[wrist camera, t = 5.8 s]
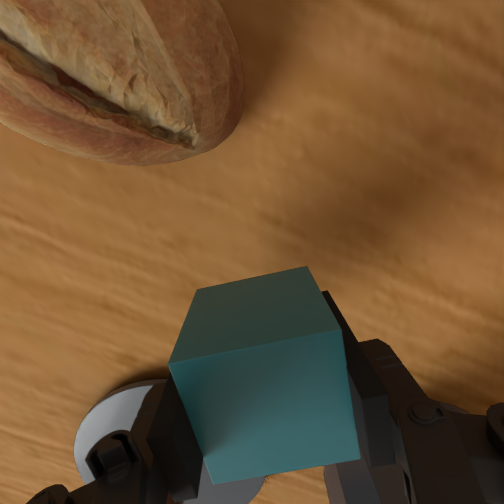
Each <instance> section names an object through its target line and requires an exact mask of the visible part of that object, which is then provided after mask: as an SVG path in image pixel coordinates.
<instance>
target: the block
mask: <svg viewBox="0 0 504 504" xmlns="http://www.w3.org/2000/svg"><path fill="white" fill-rule="evenodd" d="M168 366H169V369H170V371H171V374H172V377H173V379H174V382H175V385H176V387H177V390H178V393H179V395H180V398H181V400H182V402H183V405H184V408H185V410H186V413H187V415H188V418H189V421H190V423H191V426H192V429H193V431H194V434H195V437H196V439H197V442H198V445H199V447H200V450H201V452H202V455H203V459H204V462H205V464H206V467H207V470H208V472H209V475H210V478H211V480H212V483H213V484H220V483H226V482H231V481H237V480H243V479H249V478H254V477H260V476H266V475H272V474H277V473H283V472H289V471H294V470H300V469H306V468H312V467H317V466H323V465H329V464H334V463H340V462H346V461H352V460H357V459H361V455H360V448H359V442H358V435H357V431H356V426H355V420H354V414H353V407H352V401H351V394H350V388H349V381H348V375H347V368H346V366H347V362H346V356H345V349H344V343H343V336H342V330H341V328H340V326H339V324H338V322H337V320H336V319H335V317H334V315H333V313H332V311H331V309H330V308H329V306H328V304H327V302H326V300H325V298H324V296H323V295H322V293H321V291H320V289H319V287H318V285H317V284H316V282H315V280H314V278H313V276H312V274H311V272H310V271H309V269H308V267H307V266H304V267H300V268H295V269H290V270H286V271H281V272H276V273H272V274H267V275H262V276H258V277H253V278H248V279H244V280H239V281H234V282H229V283H225V284H220V285H215V286H211V287H206V288H201V289H197V290H196V293H195V296H194V298H193V301H192V303H191V306H190V308H189V311H188V313H187V316H186V319H185V321H184V324H183V326H182V329H181V331H180V334H179V337H178V339H177V342H176V344H175V347H174V349H173V352H172V354H171V357H170V360H169V362H168Z"/></svg>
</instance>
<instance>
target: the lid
mask: <svg viewBox="0 0 504 504" xmlns="http://www.w3.org/2000/svg"><path fill="white" fill-rule="evenodd" d="M166 381H167V379H153V380H145V381H140V382H136V383H132V384H129V385H126V386H123V387H121V388H118V389H116V390H115V391H113V392H111V393H109V394H107V395H106V396H105V397H103V398H102V399H101V400H99V401H98V402H97V403H96V404H95V405H94V406H93V407H92V408H91V409H90V411H89V412H88V413H87V415H86V416H85V418H84V419H83V421H82V422H81V424H80V427H79V429H78V431H77V434H76V438H75V443H74V456H75V462H76V466H77V469H78V472H79V474H80V476H81V478H82V480H83V481H84V483H85V484H88V483H90V482H92V481H94V480H95V478H94V476H93V474H92V473H91V471H90V469H89V467H88V465H87V464H86V462H85V459H86V456H87V454H88V452H89V451H90V449H91V448H92V447H93V446H94V445H95V443H96V442H98V441H99V440H100V439H101V438H102V437H104V436H105V435H107V434H109V433H111V432H113V431H116V430H120V429H122V430H128V431H129V432H130V429H131V427H132V425H133V422H134V420H135V418H136V417H137V413H138V411H139V408H141V404H142V401H143V399H144V397H145V394H146V393H147V392H148V391H149V390H150V388H151V387H152V386H153V385H154V384H156V383H161V382H166ZM265 477H266V476H260V477H254V478H249V479H243V480H237V481H231V482H226V483H220V484H213V483H212V480H211V478H210V475H209V472H208V470H207V467H206V464H205V462H204V459H203V465H202V471H201V478H200V485H199V492H198V498H197V499H191V500H185V501H180V502H174V500H173V498H172V496H171V494H170V491H169V493H168V497H167V502H166V504H248V503H249V502H251V501H252V500H253V498H254V497H255V496H256V495H257V493H258V492H259V490H260V488H261V487H262V485H263V483H264V480H265Z"/></svg>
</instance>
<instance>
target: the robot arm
mask: <svg viewBox="0 0 504 504" xmlns="http://www.w3.org/2000/svg"><path fill="white" fill-rule="evenodd" d="M321 293H322V295H323V296H324V298H325V300H326V302H327V304H328V306H329V308H330V309H331V311H332V313H333V315H334V317H335V319H336V320H337V322H338V324H339V326H340V328H341V330H342V336H343V343H344V349H345V356H346V362H347V366H346V368H347V375H348V381H349V388H350V394H351V401H352V407H353V414H354V420H355V426H356V431H357V434H358V436H359V439H360V441H361V444H362V446H363V449H364V451H365V454H366V457H367V459H368V462H369V464H370V467H371V468H376V467H381V466H387V465H393V464H396V459H395V453H396V455H397V457H398V459H399V461H400V463H401V465H402V469H403V480H404V490H405V496H407V499H408V504H487V502H490V503H493V504H504V403H497V404H494V405H491V406H490V408H489V409H488V410H487V414H486V416H482V415H472V414H462V413H456V412H452V411H449V410H447V409H446V408H445V407H444V406H442V405H441V404H440V403H438V402H437V401H435V400H432V399H430V398H428V397H427V396H426V394H425V393H424V392H423V390H422V389H421V388H420V386H419V385H418V384H417V382H416V381H415V379H414V378H413V377H412V375H411V374H410V373H409V371H408V370H407V369H406V367H405V366H404V365H403V364H402V362H401V361H400V359H399V358H398V357H397V356H396V354H395V353H394V351H393V350H392V349H391V347H390V346H389V345H387V344H386V343H384V342H383V341H381V340H379V339H373V340H368V341H363V342H358V341H357V339H356V338H355V336H354V334H353V332H352V331H351V329H350V327H349V326H348V324H347V322H346V321H345V319H344V317H343V316H342V314H341V312H340V311H339V309H338V307H337V305H336V304H335V302H334V300H333V299H332V297H331V295H330V294H329V292H328V290H327V291H322V292H321ZM85 462H86V464H87V465H88V467H89V469H90V471H91V473H92V474H93V476H94V478H95V480H94V481H92V482H90V483H88V484H86V485H84V486H82V487H80V488H78V489H76V490H74V491H72V492H70V493H69V492H68V490H67V488H66V487H64V486H63V485H62V484H55V485H52V486H50V487H47V488H45V489H43V490H42V491H40V492H39V493H37V494H36V495H35V496H34V497H33V498H32V499H30V500H29V501H28V502H27V503H26V504H166V502H167V497H168V493H169V491H170V494H171V496H172V498H173V500H174V502H180V501H185V500H191V499H197V498H198V492H199V485H200V478H201V471H202V465H203V455H202V452H201V450H200V447H199V445H198V442H197V439H196V437H195V434H194V431H193V429H192V426H191V423H190V421H189V418H188V415H187V413H186V410H185V408H184V405H183V402H182V400H181V398H180V395H179V393H178V390H177V387H176V385H175V382H174V379H173V377H172V374H171V371H170V374H169V377H168V379H167V381H166V382H161V383H156V384H154V385H153V386H152V387H151V388H150V390H149V391H148V392H147V393H146V394H145V397H144V399H143V401H142V404H141V408H139V411H138V413H137V417H136V418H135V420H134V422H133V425H132V427H131V429H130V432H129V431H128V430H122V429H120V430H116V431H113V432H111V433H109V434H107V435H105V436H104V437H102V438H101V439H100V440H99V441H98V442H96V443H95V445H94V446H93V447H92V448H91V449H90V451H89V452H88V454H87V456H86V459H85Z"/></svg>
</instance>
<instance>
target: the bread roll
mask: <svg viewBox="0 0 504 504" xmlns="http://www.w3.org/2000/svg"><path fill="white" fill-rule="evenodd" d="M243 104H244V78H243V71H242V64H241V58H240V53H239V49H238V46H237V42H236V39H235V37H234V34H233V32H232V29H231V27H230V25H229V23H228V20H227V18H226V16H225V13H224V11H223V9H222V7H221V5H220V2H219V0H0V123H2V124H4V125H5V126H7V127H9V128H10V129H12V130H14V131H16V132H18V133H20V134H22V135H24V136H26V137H28V138H30V139H33V140H35V141H37V142H39V143H41V144H44V145H46V146H49V147H51V148H53V149H56V150H58V151H61V152H63V153H67V154H70V155H74V156H78V157H81V158H86V159H91V160H95V161H100V162H105V163H110V164H120V165H127V166H131V165H155V164H166V163H170V162H175V161H179V160H183V159H186V158H189V157H192V156H195V155H197V154H200V153H203V152H207V151H209V150H211V149H213V148H215V147H217V146H218V145H219V144H220V143H222V142H223V141H224V140H225V139H226V138H228V137H229V135H230V134H231V133H232V132H233V131H234V129H235V127H236V126H237V124H238V123H239V120H240V117H241V113H242V109H243Z"/></svg>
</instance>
